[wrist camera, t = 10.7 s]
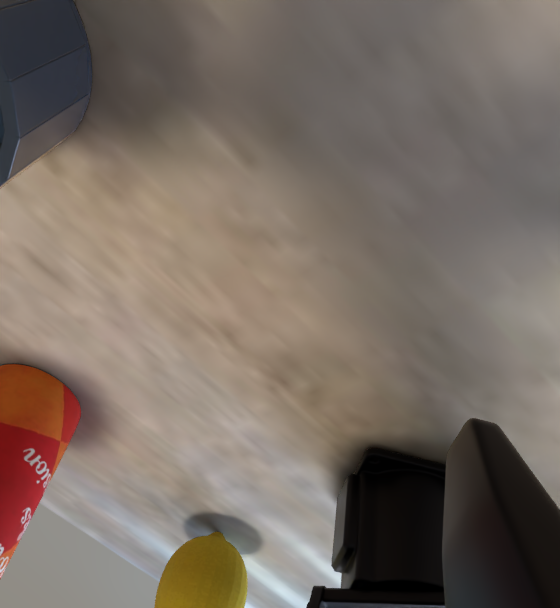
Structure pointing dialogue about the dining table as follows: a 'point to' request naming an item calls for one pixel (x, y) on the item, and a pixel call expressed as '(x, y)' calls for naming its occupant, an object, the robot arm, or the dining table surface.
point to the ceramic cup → (40, 80)
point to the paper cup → (29, 445)
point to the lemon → (204, 576)
